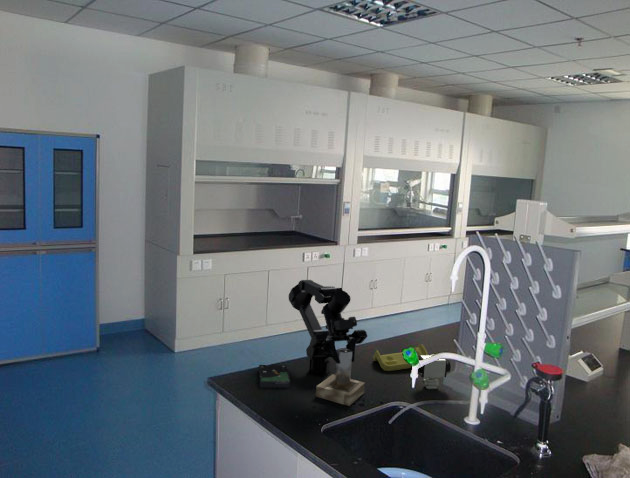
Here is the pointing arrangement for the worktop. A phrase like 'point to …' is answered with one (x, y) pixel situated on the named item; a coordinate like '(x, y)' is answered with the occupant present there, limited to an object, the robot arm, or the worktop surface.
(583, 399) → the worktop surface
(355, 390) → the square wooden tray
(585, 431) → the worktop surface
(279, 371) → the disk drive
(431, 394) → the worktop surface
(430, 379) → the pneumatic valve
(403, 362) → the plastic component
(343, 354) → the bushing
